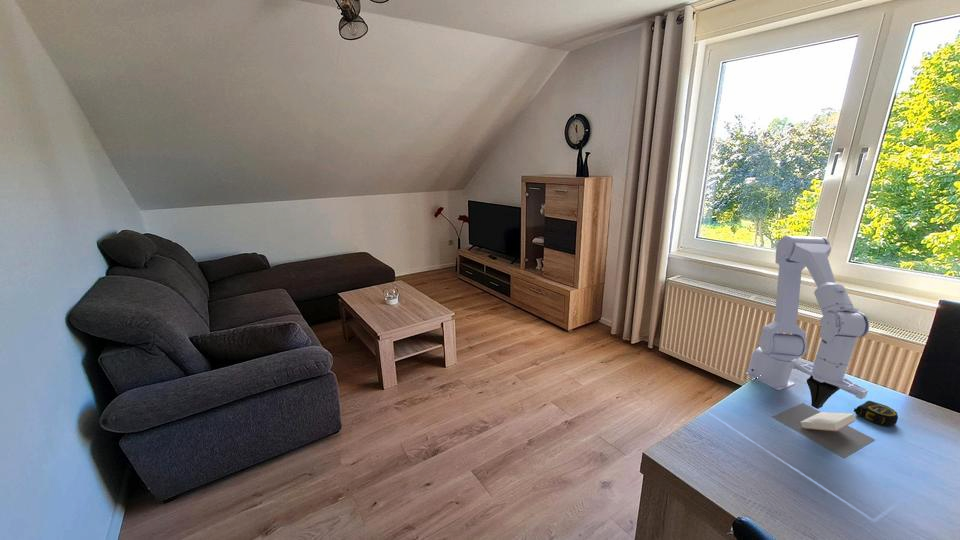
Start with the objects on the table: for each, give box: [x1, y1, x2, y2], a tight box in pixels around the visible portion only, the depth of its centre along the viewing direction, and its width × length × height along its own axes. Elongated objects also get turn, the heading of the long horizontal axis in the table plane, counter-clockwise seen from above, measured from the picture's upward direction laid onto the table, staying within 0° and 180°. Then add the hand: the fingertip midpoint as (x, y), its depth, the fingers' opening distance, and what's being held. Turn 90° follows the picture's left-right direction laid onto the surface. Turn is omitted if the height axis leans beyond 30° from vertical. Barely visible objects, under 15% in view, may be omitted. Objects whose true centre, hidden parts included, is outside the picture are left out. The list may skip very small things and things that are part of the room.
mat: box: [771, 402, 876, 459], centre depth 93 cm, size 15×14×1 cm
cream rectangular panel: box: [801, 411, 857, 431], centre depth 92 cm, size 2×9×7 cm
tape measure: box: [853, 400, 899, 427], centre depth 96 cm, size 7×7×4 cm
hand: (816, 406), depth 94 cm, fingers closed
